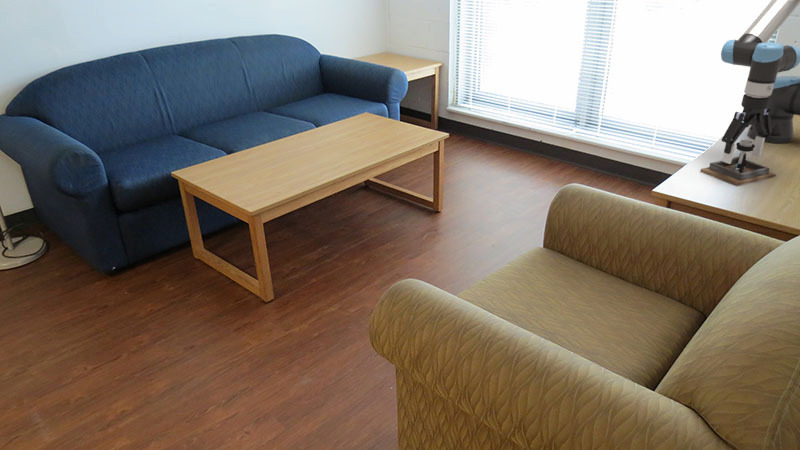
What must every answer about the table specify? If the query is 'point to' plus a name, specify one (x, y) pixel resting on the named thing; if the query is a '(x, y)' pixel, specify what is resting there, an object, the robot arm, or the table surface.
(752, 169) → the dock
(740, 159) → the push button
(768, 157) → the table surface
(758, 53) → the robot arm
